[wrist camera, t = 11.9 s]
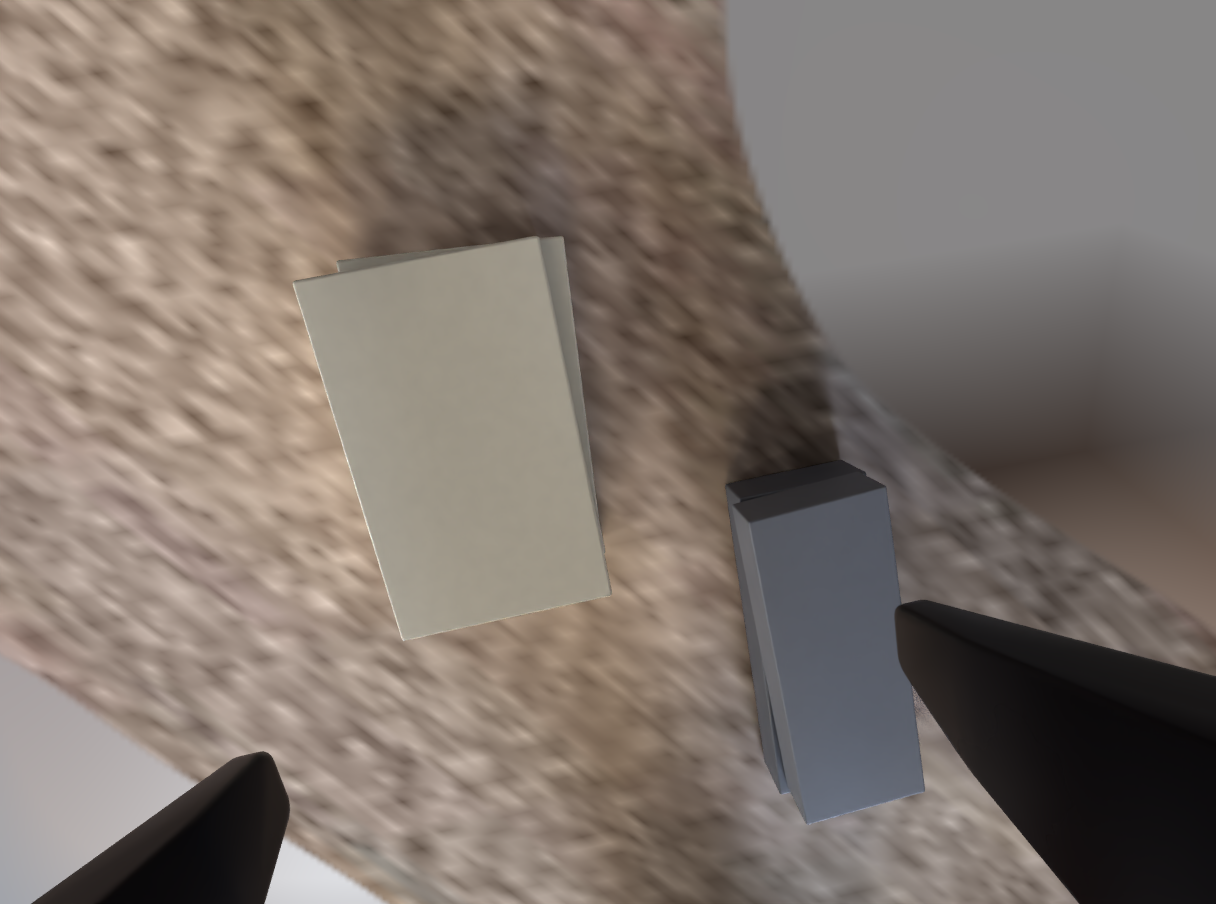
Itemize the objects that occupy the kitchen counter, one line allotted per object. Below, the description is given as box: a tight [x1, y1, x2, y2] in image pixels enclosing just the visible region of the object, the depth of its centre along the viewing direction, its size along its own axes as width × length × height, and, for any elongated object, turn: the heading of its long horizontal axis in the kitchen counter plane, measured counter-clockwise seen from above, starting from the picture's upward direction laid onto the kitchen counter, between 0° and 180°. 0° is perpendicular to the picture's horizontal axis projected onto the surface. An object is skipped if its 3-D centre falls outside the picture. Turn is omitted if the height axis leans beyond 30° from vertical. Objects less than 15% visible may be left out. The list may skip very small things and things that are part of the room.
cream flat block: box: [337, 236, 605, 553], centre depth 17 cm, size 10×6×3 cm, turn 11°
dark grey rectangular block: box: [725, 460, 925, 824], centre depth 19 cm, size 11×4×3 cm, turn 11°
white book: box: [293, 236, 612, 641], centre depth 15 cm, size 9×6×1 cm, turn 11°
